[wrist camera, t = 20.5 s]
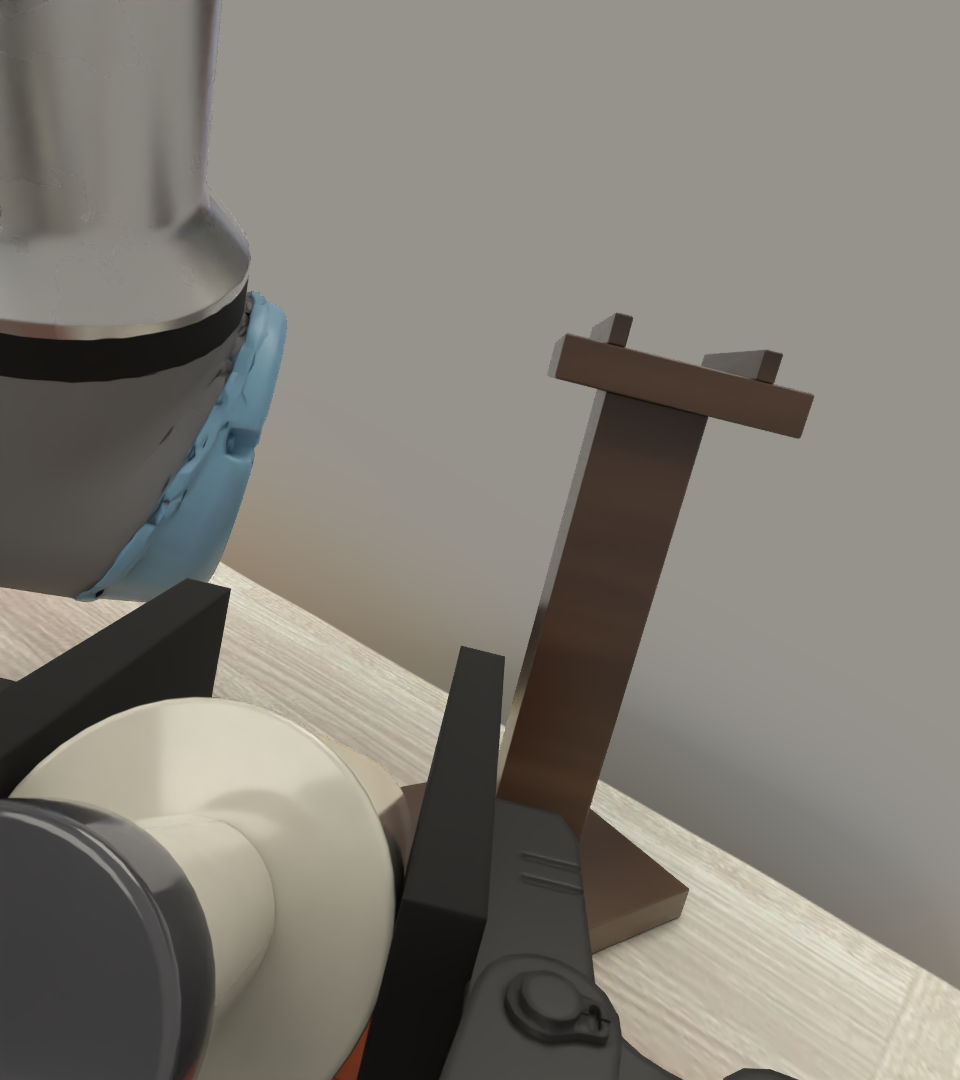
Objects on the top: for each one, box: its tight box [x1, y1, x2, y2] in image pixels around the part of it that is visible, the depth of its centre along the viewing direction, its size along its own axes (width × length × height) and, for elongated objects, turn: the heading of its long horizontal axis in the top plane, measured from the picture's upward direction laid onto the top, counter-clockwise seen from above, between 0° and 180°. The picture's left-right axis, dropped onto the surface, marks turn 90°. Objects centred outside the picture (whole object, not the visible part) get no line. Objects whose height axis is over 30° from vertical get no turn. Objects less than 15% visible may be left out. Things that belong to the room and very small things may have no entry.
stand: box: [400, 313, 814, 953], centre depth 34 cm, size 16×15×24 cm
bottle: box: [0, 697, 412, 1080], centre depth 11 cm, size 16×4×4 cm, turn 177°
